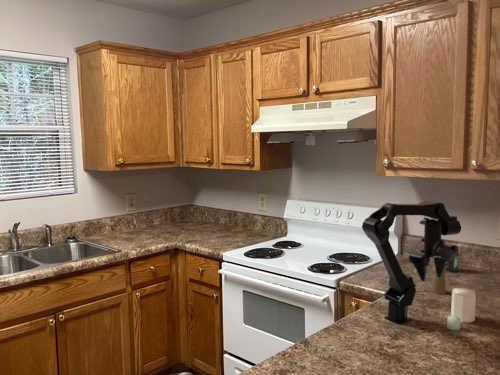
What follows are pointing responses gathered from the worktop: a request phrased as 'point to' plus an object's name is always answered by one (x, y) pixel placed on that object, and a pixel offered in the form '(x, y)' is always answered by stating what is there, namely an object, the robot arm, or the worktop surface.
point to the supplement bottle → (453, 264)
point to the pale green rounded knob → (453, 322)
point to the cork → (438, 282)
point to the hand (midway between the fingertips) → (431, 279)
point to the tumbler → (463, 304)
